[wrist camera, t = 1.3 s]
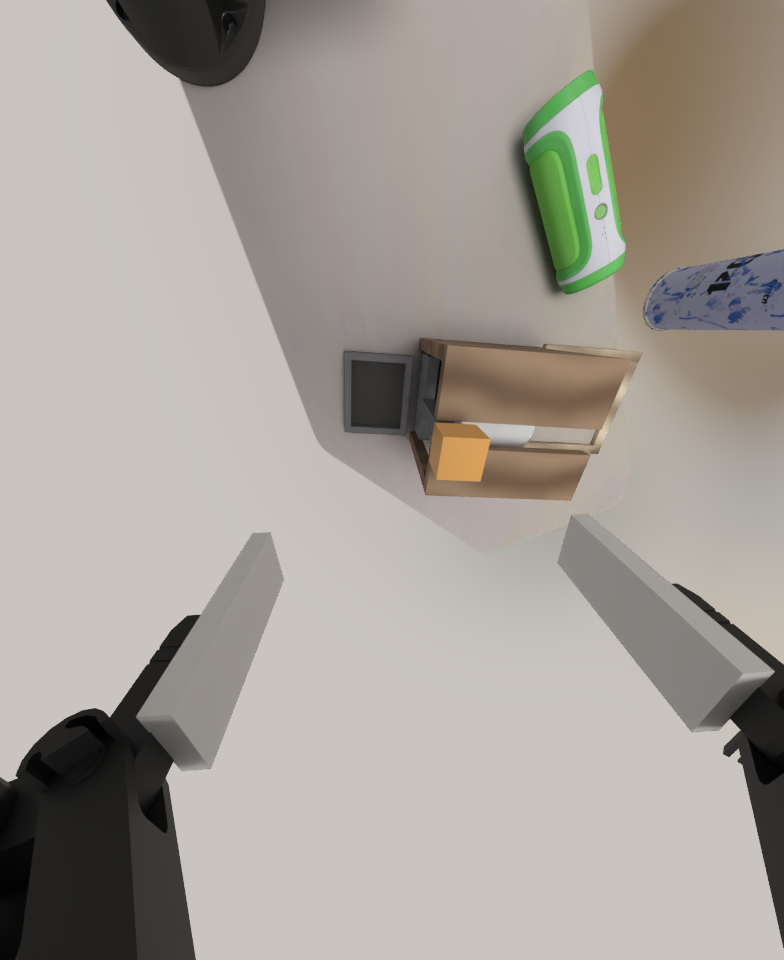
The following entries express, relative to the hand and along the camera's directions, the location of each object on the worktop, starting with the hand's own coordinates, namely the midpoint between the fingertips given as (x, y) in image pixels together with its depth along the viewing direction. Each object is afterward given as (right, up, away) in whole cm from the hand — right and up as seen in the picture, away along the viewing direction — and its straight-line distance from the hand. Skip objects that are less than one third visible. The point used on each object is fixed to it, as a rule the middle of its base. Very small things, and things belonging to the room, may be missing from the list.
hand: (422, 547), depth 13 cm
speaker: (+20, +37, +24) cm, 48 cm away
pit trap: (-4, +17, +33) cm, 37 cm away
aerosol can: (+39, +29, +29) cm, 57 cm away
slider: (+4, +17, +34) cm, 38 cm away
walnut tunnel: (+11, +16, +34) cm, 40 cm away
